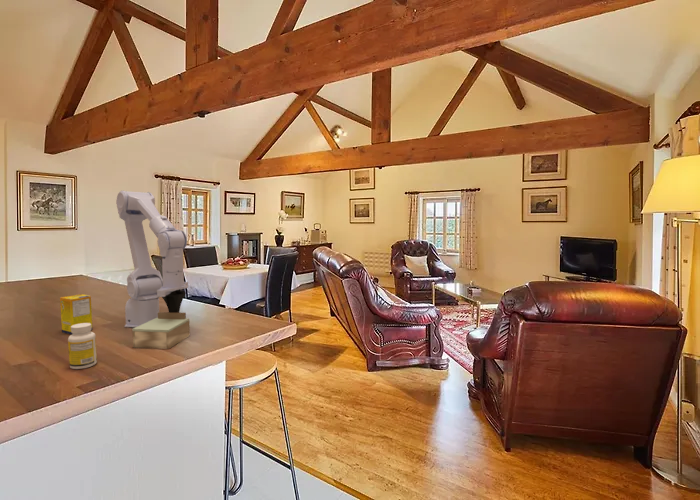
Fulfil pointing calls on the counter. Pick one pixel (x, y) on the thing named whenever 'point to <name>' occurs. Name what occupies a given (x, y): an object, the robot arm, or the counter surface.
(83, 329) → the supplement bottle
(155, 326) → the lid
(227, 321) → the counter surface
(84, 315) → the supplement box
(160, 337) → the box
